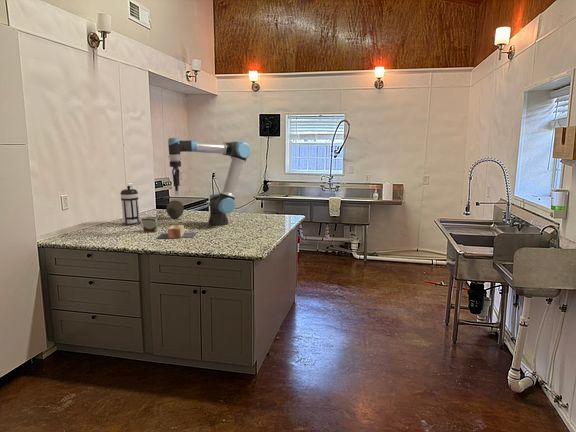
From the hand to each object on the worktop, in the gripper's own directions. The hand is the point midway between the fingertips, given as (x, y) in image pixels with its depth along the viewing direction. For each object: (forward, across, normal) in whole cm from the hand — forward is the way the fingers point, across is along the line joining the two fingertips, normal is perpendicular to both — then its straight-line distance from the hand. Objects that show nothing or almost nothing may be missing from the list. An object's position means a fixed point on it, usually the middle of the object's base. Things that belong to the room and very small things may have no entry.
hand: (177, 195), depth 277 cm
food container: (+27, -8, -21) cm, 35 cm away
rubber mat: (+26, +9, 0) cm, 28 cm away
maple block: (+23, +17, 0) cm, 29 cm away
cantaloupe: (+27, -55, -14) cm, 63 cm away
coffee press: (+27, -35, -43) cm, 62 cm away
